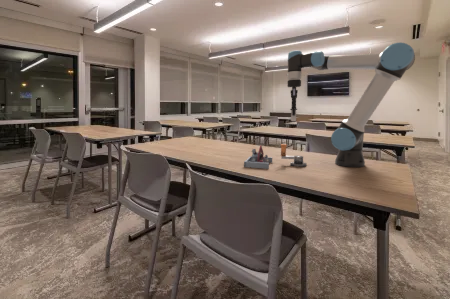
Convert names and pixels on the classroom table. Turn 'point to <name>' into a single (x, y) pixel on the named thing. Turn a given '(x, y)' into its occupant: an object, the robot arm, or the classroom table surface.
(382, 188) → the classroom table surface
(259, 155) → the grey red spired block
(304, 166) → the crank base
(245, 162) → the tray
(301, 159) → the crank
